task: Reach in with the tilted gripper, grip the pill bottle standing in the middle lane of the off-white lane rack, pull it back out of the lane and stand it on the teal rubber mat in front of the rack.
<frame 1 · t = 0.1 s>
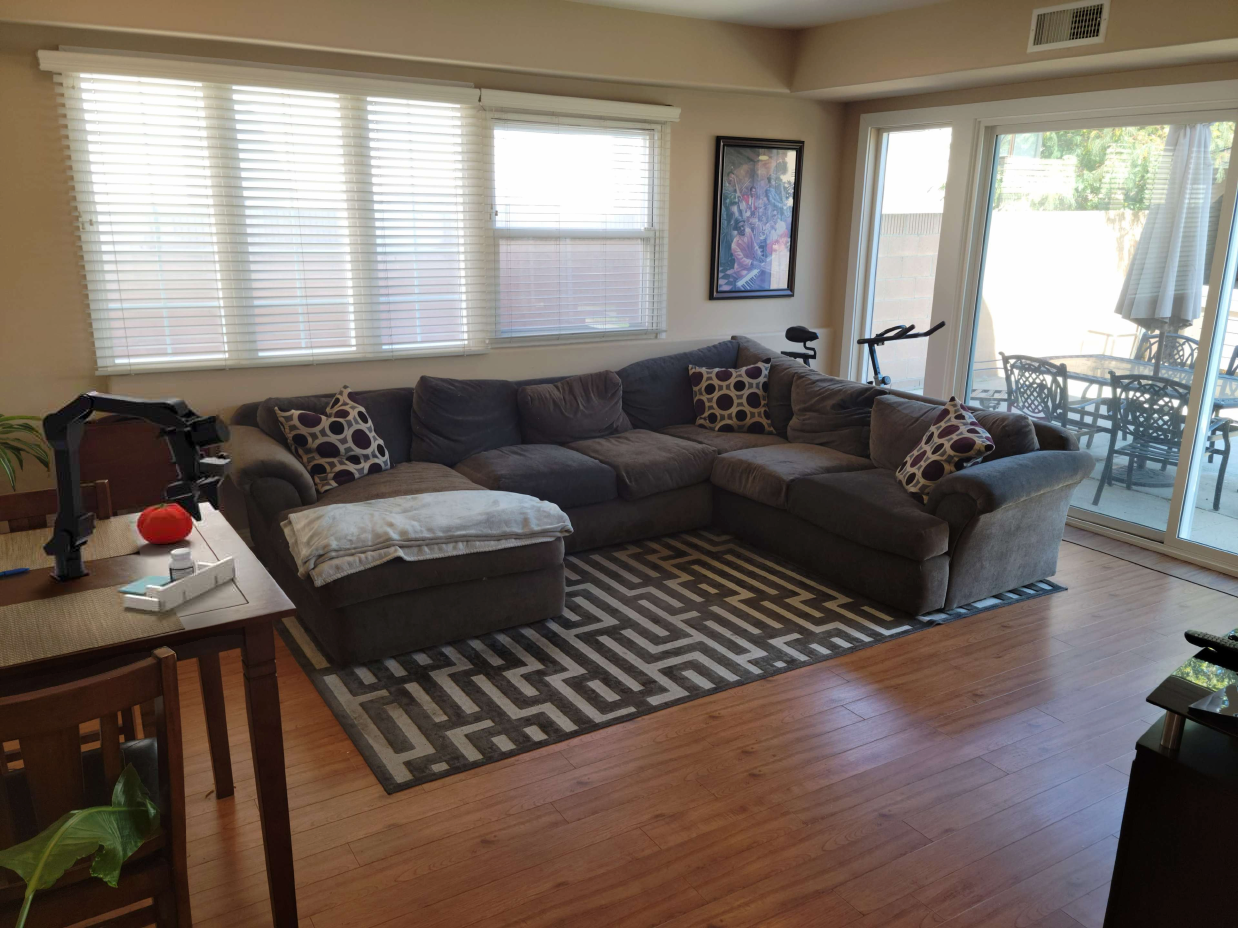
hand: (208, 515, 210), 15 cm above the table, tool pointing down, fingers open, 9 cm apart
lane rack: (183, 590, 205), on the table
pill bottle: (184, 592, 205), on the table
teal mat: (147, 585, 208), on the table
tomato: (166, 543, 238), on the table
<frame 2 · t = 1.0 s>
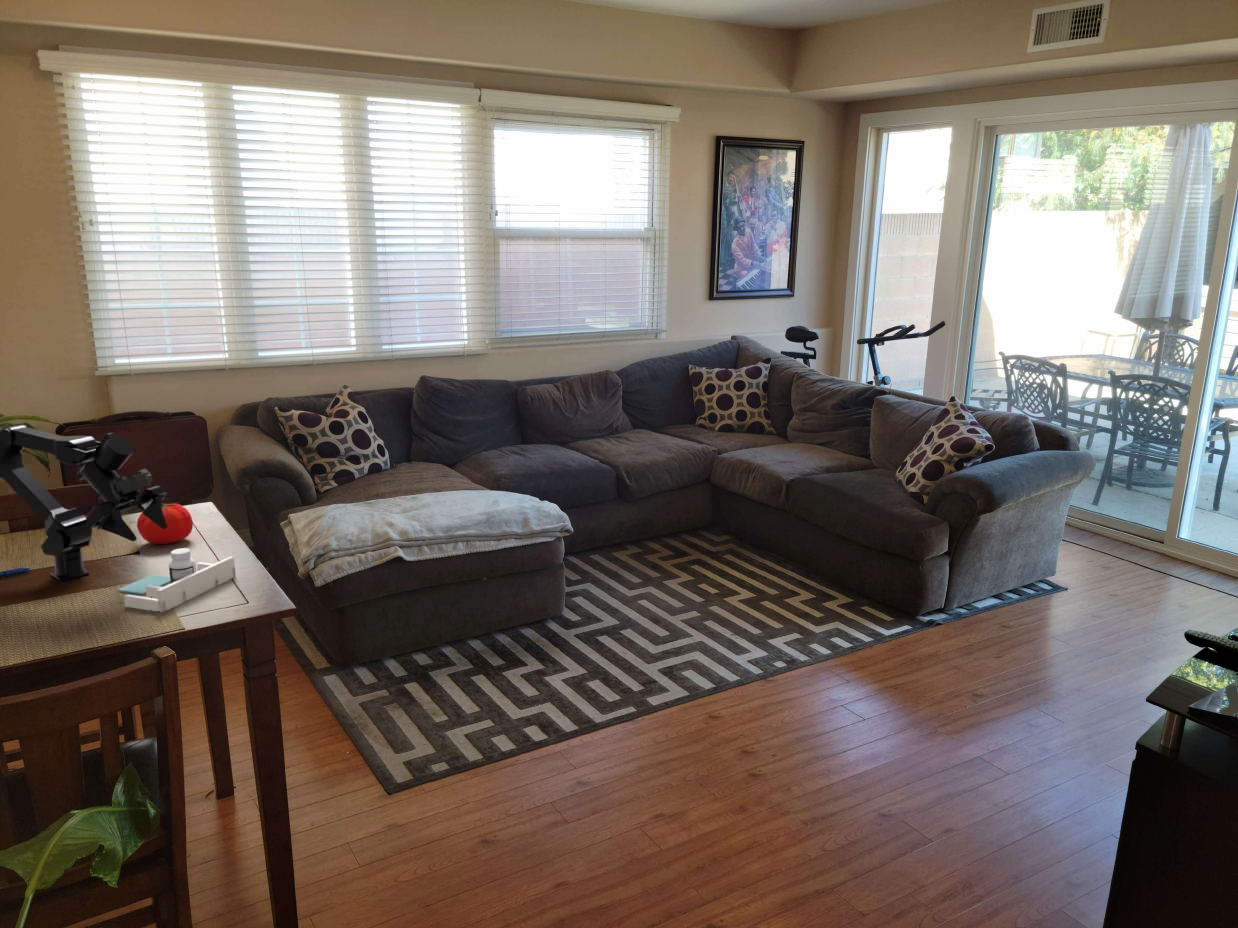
hand: (151, 534, 204), 13 cm above the table, tool tilted 45°, fingers open, 9 cm apart
nothing on the table moved.
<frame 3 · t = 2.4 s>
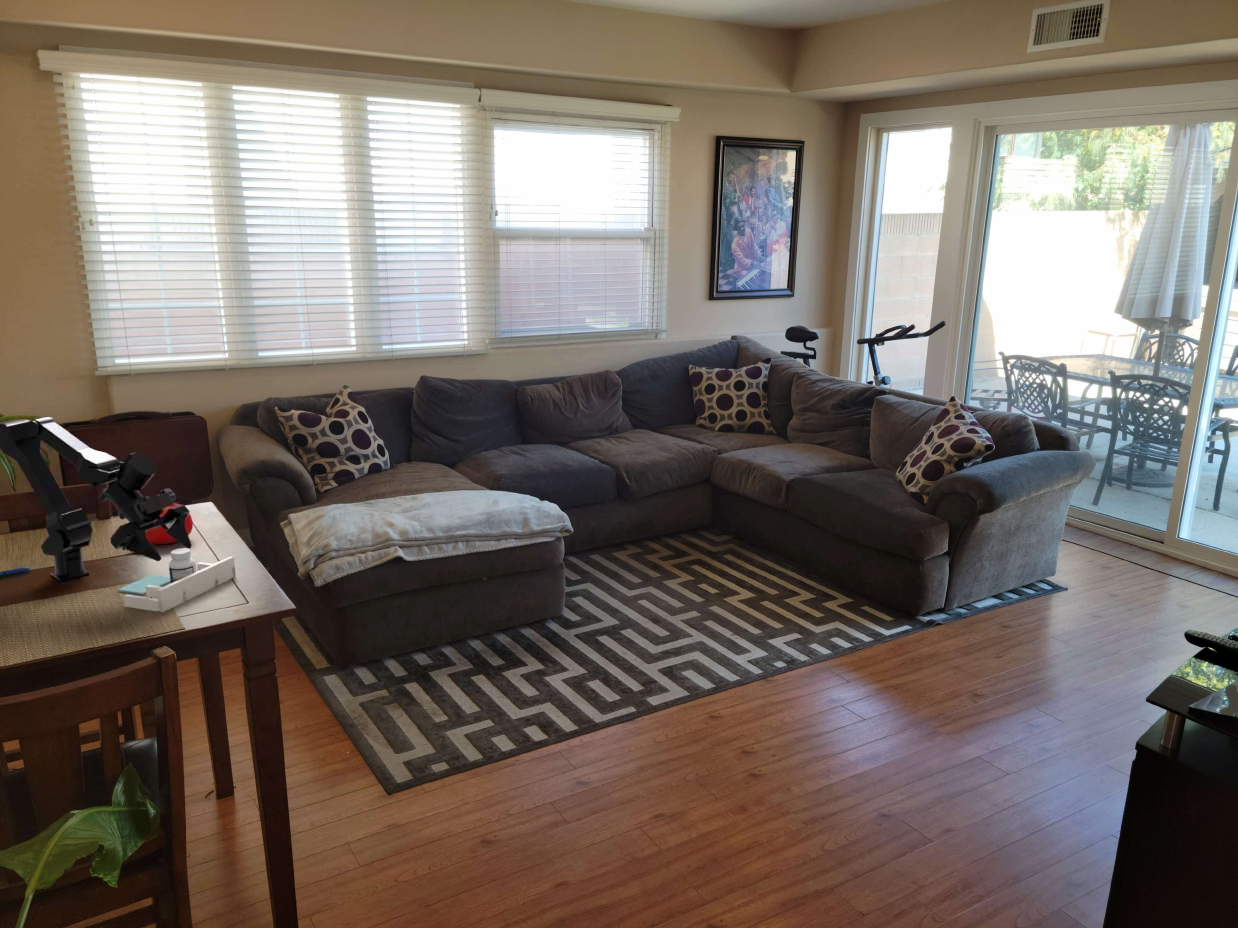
hand: (175, 553, 203), 9 cm above the table, tool tilted 45°, fingers open, 9 cm apart
nothing on the table moved.
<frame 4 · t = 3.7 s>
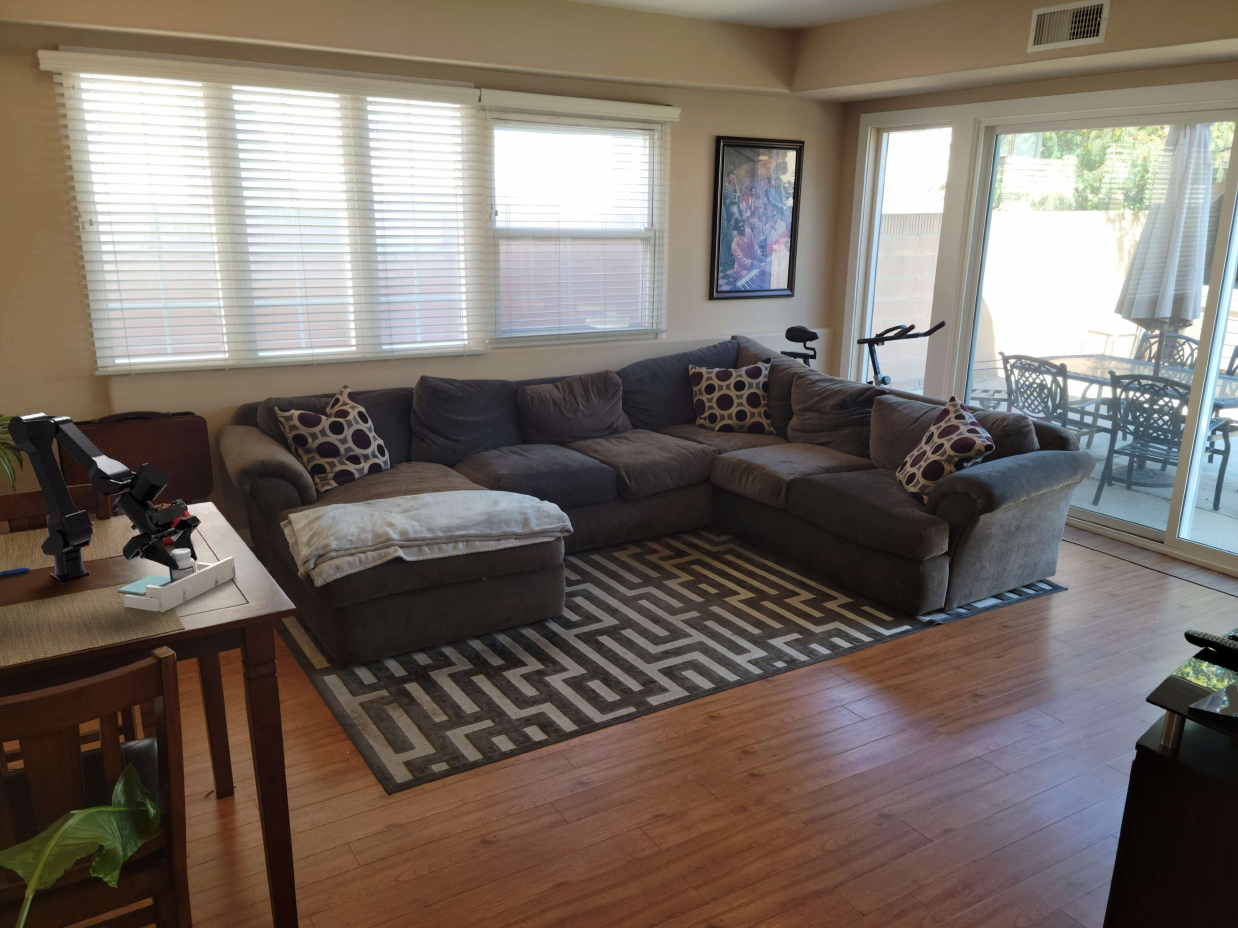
hand: (186, 564, 203), 7 cm above the table, tool tilted 45°, fingers closed on pill bottle, 5 cm apart
pill bottle: (184, 591, 205), on the table, touching gripper
everything else where it was.
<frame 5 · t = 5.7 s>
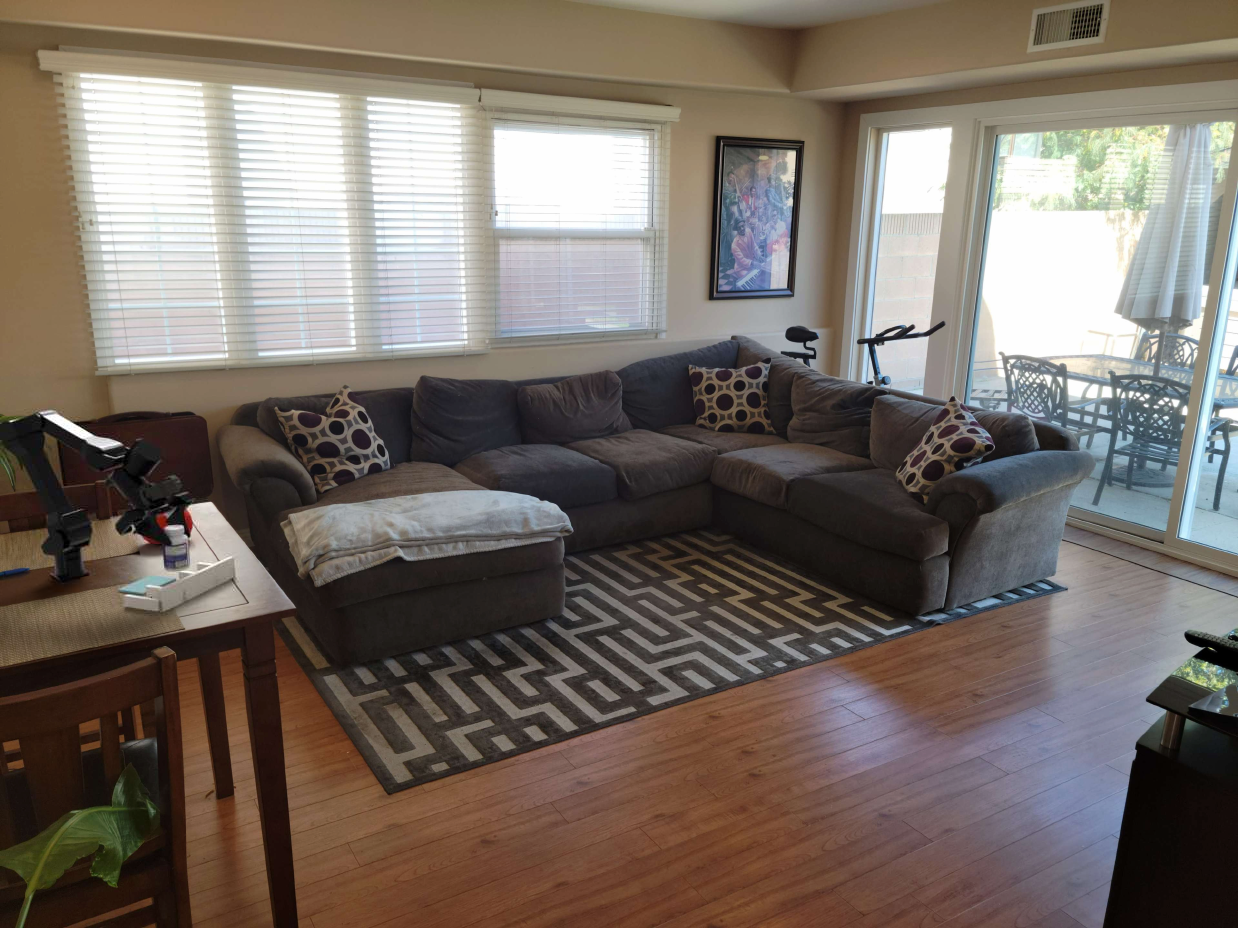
hand: (180, 541, 202), 12 cm above the table, tool tilted 45°, fingers closed on pill bottle, 5 cm apart
pill bottle: (177, 569, 204), point 5 cm above the table, touching gripper
everything else where it was.
when the fingers open (8 cm above the table, at t = 8.0 s): pill bottle drops 1 cm, resting on teal mat.
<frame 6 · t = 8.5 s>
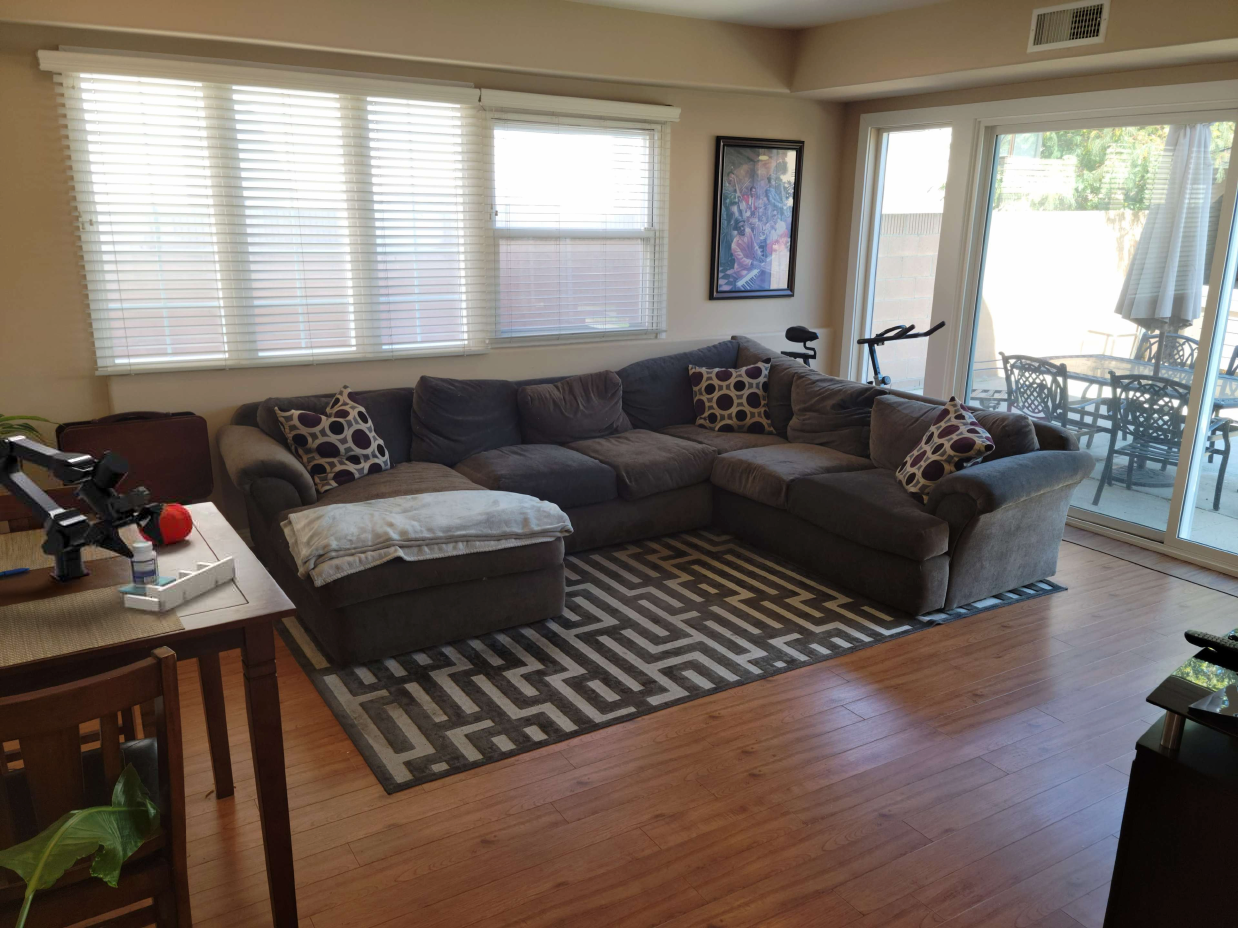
hand: (148, 551, 205), 9 cm above the table, tool tilted 45°, fingers open, 9 cm apart
pill bottle: (146, 584, 207), resting on teal mat
everything else where it was.
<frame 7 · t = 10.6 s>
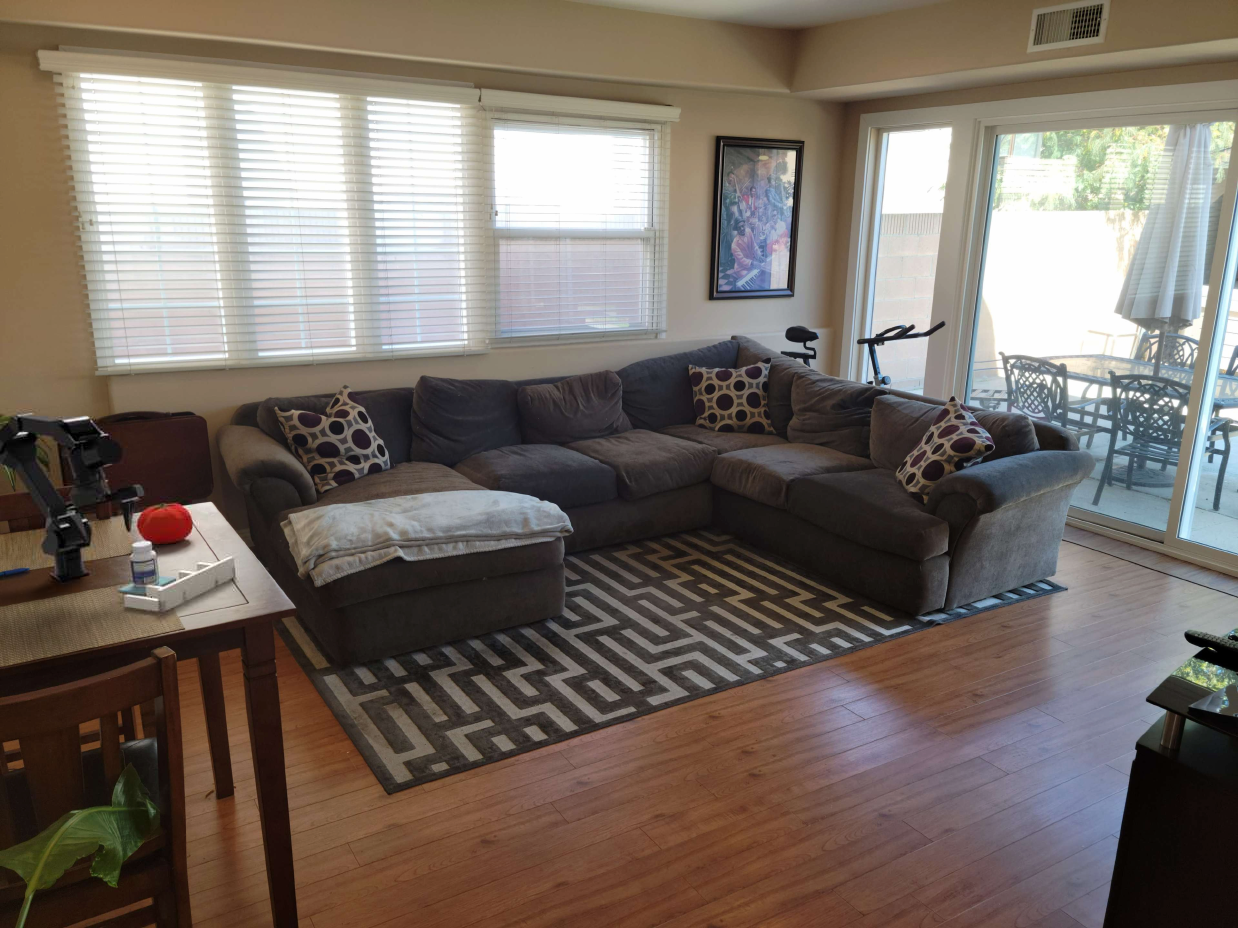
hand: (108, 537, 204), 12 cm above the table, tool tilted 15°, fingers open, 9 cm apart
nothing on the table moved.
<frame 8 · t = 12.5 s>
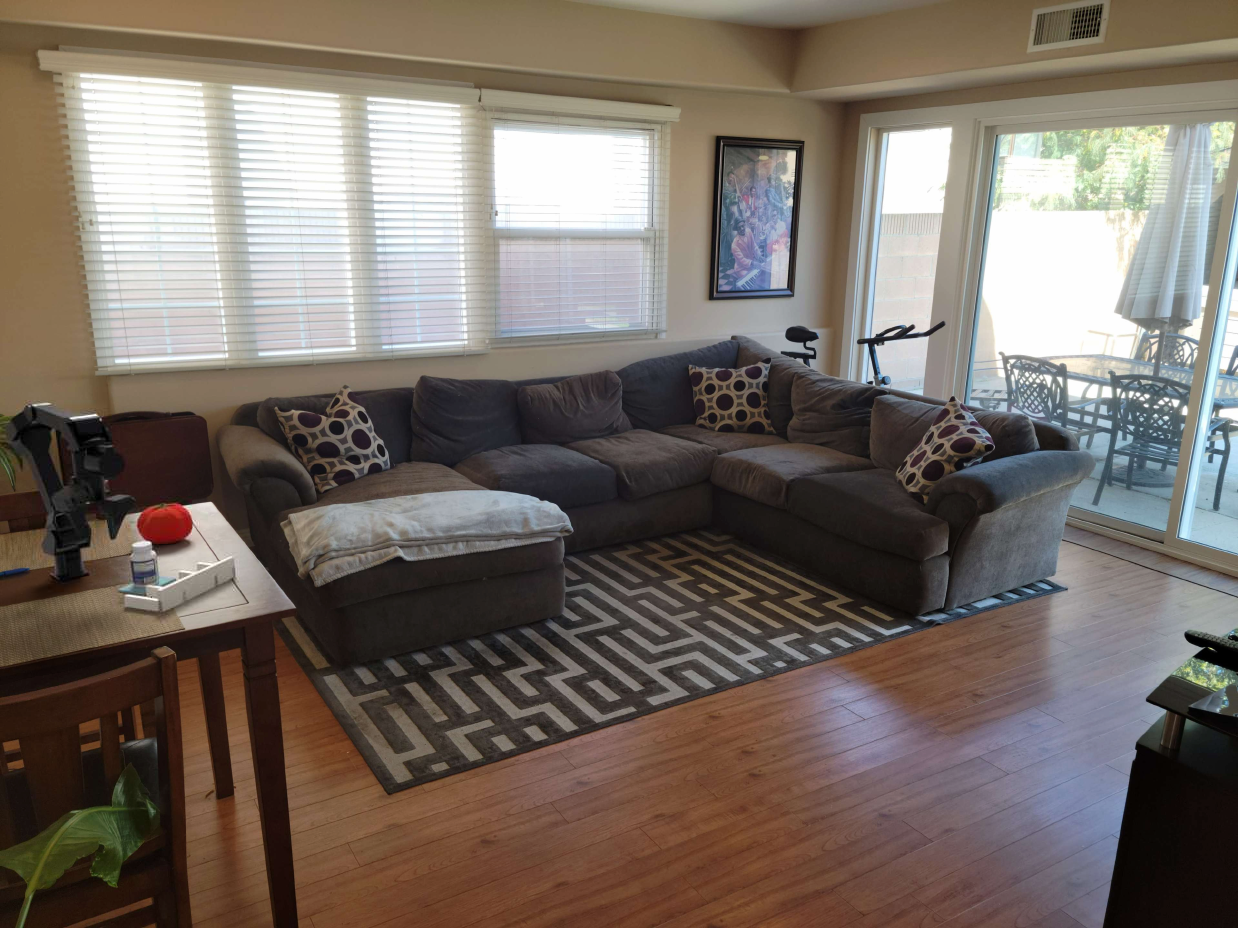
hand: (96, 537, 204), 12 cm above the table, tool pointing down, fingers open, 9 cm apart
nothing on the table moved.
at the end: pill bottle inside the target area on the teal mat (0.2 cm from its centre), point 0.3 cm above the teal mat's base; pill bottle tilted 0°; the gripper is holding nothing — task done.
